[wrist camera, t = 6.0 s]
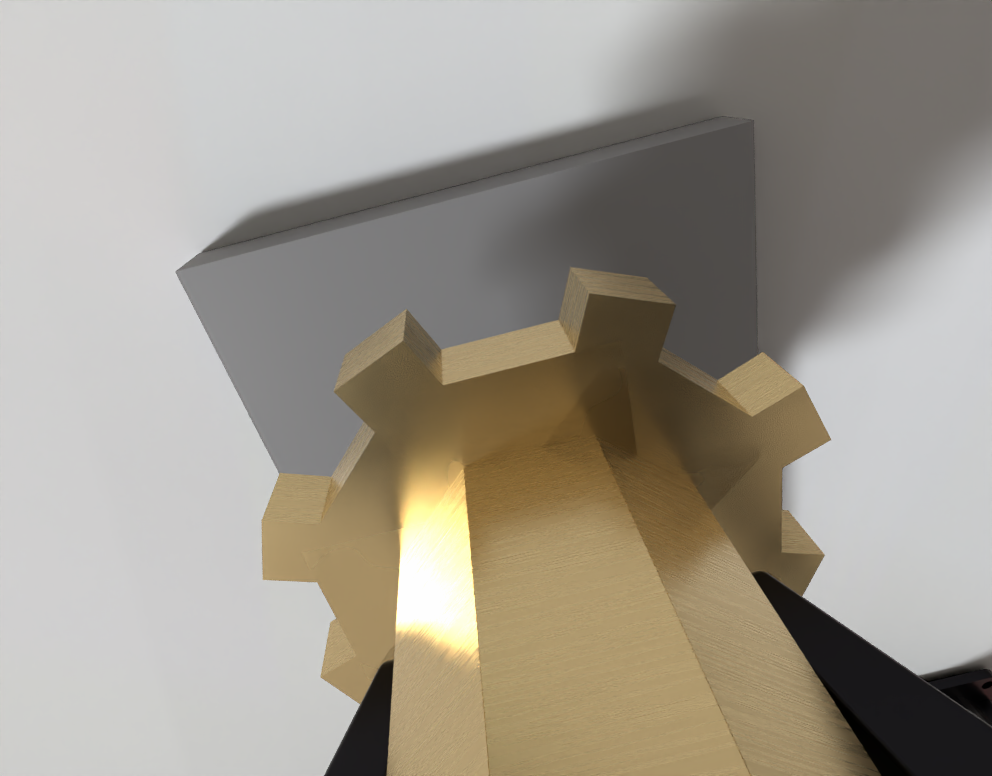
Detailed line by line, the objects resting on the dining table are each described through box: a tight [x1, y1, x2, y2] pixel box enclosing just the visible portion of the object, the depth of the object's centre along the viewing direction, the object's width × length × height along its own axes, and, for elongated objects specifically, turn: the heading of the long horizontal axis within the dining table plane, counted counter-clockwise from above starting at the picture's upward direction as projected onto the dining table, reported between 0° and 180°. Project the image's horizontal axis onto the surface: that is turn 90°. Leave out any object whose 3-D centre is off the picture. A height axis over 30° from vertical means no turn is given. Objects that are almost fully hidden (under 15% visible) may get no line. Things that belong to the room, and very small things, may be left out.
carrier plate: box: [176, 116, 758, 477], centre depth 16 cm, size 13×18×6 cm
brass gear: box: [262, 267, 881, 776], centre depth 8 cm, size 9×9×6 cm
